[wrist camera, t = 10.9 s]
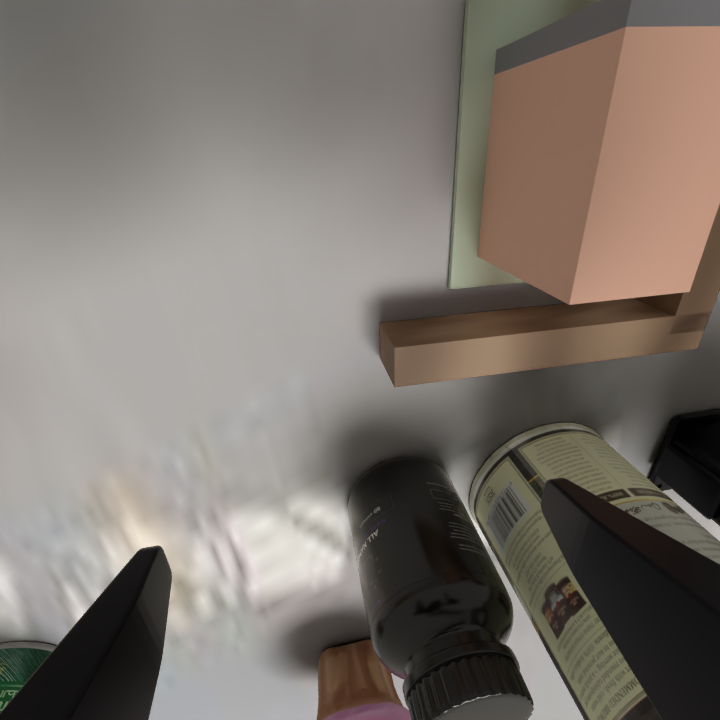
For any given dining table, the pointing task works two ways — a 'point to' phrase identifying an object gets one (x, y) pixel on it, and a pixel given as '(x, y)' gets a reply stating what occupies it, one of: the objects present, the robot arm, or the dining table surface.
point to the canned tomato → (19, 666)
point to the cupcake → (356, 685)
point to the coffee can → (548, 566)
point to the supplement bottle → (434, 596)
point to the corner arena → (522, 325)
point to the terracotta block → (606, 151)
